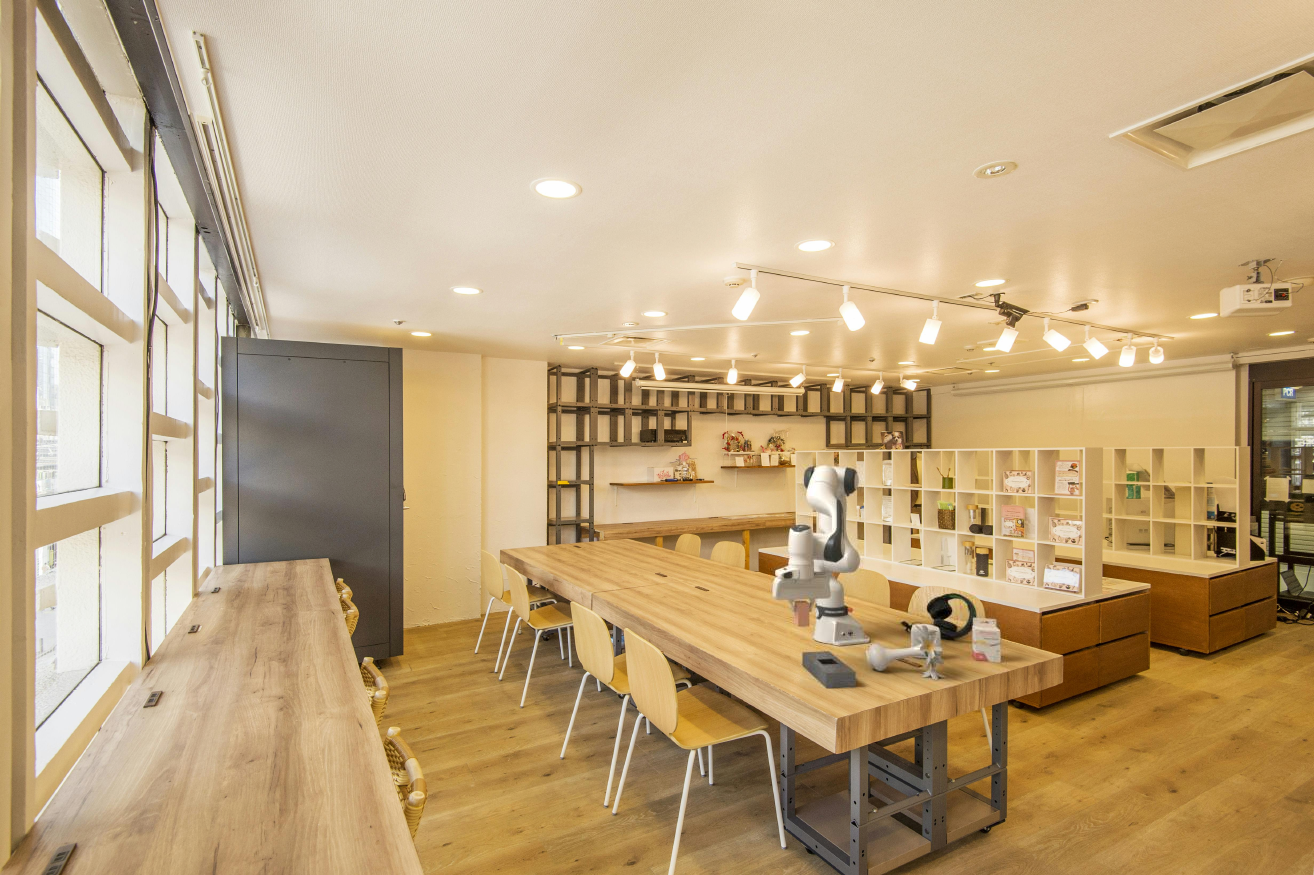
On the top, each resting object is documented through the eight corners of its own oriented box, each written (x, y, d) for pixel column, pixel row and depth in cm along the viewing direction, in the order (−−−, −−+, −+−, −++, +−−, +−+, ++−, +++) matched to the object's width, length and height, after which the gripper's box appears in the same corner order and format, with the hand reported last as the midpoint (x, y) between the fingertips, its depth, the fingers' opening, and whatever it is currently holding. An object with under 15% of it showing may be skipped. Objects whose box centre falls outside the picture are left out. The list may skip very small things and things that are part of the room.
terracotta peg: (805, 623, 218) (805, 600, 218) (809, 626, 214) (809, 603, 214) (794, 623, 218) (794, 600, 218) (798, 626, 214) (797, 603, 214)
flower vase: (876, 693, 213) (953, 683, 205) (861, 644, 212) (937, 631, 204) (875, 674, 225) (947, 664, 217) (860, 627, 224) (932, 615, 216)
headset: (923, 653, 263) (986, 633, 245) (902, 643, 258) (965, 622, 239) (914, 613, 275) (974, 592, 257) (895, 603, 270) (954, 580, 251)
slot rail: (829, 664, 223) (828, 651, 223) (855, 686, 201) (855, 672, 202) (802, 665, 222) (802, 652, 222) (826, 688, 200) (826, 673, 200)
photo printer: (940, 657, 231) (939, 624, 232) (941, 660, 227) (941, 627, 228) (910, 654, 234) (909, 621, 235) (911, 658, 230) (911, 624, 231)
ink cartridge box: (975, 661, 227) (974, 620, 227) (972, 656, 232) (971, 617, 232) (1001, 662, 225) (1000, 622, 225) (997, 658, 230) (996, 618, 230)
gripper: (826, 569, 221) (826, 608, 220) (770, 571, 219) (771, 610, 218) (833, 572, 215) (833, 612, 214) (776, 574, 212) (776, 614, 212)
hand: (801, 611), depth 216 cm, fingers closed on terracotta peg, 4 cm apart
